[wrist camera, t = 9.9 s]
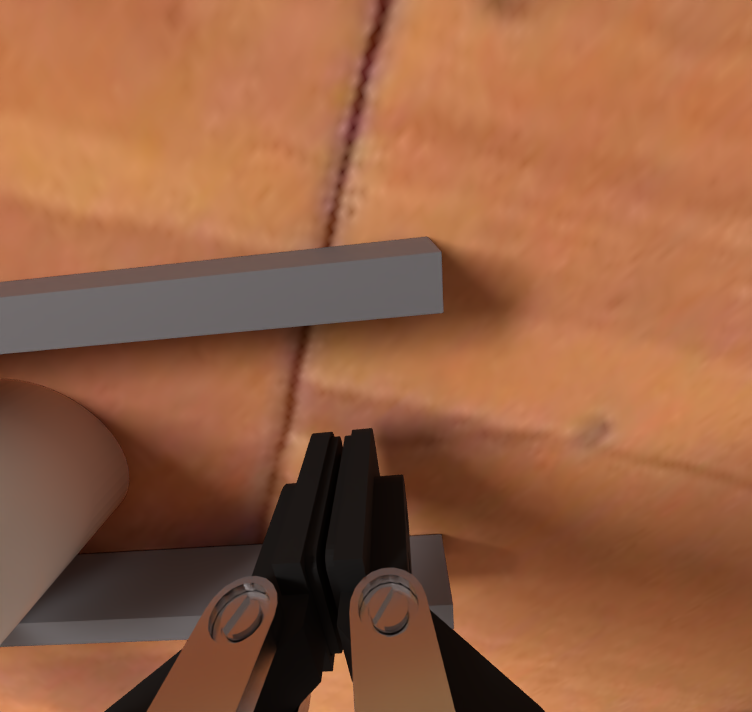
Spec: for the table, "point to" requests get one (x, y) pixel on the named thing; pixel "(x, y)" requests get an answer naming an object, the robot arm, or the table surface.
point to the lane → (194, 318)
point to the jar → (49, 490)
